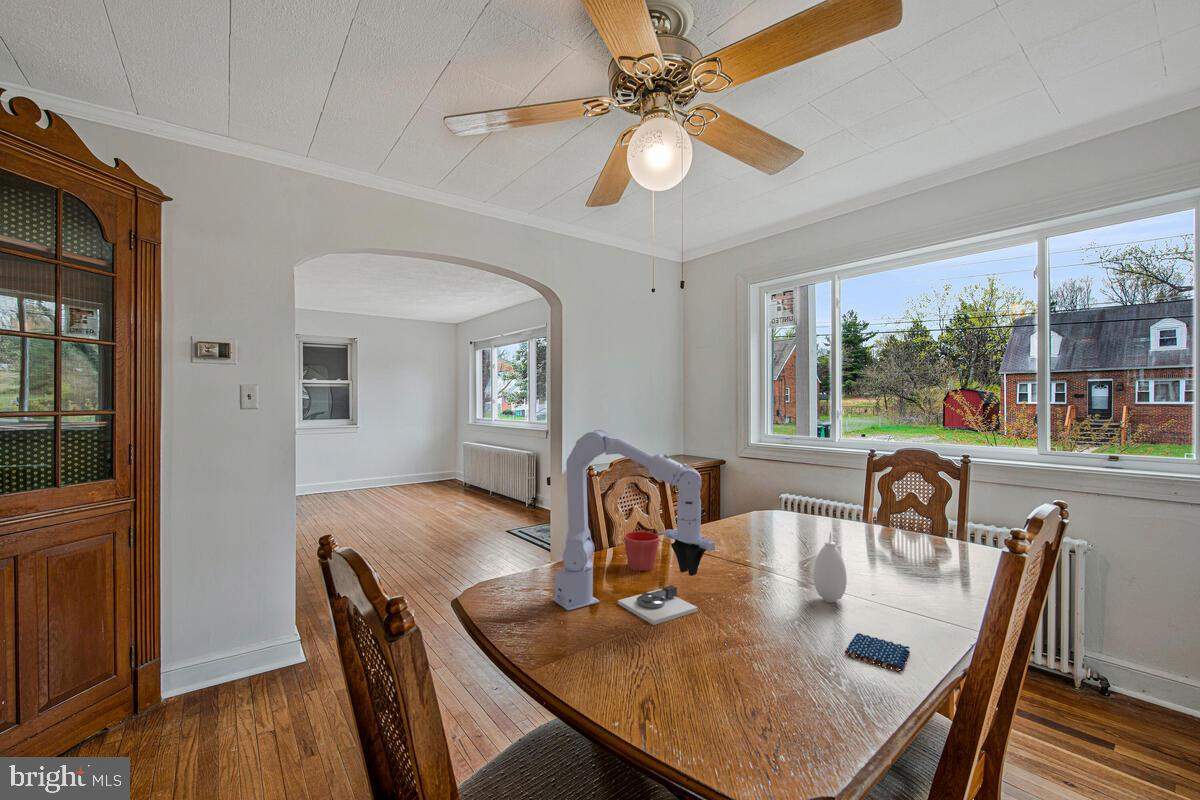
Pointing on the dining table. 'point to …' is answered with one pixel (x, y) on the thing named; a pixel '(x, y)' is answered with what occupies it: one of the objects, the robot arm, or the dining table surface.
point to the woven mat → (878, 651)
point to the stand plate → (659, 609)
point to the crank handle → (656, 597)
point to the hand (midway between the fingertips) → (688, 573)
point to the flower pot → (641, 549)
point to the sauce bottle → (830, 573)
